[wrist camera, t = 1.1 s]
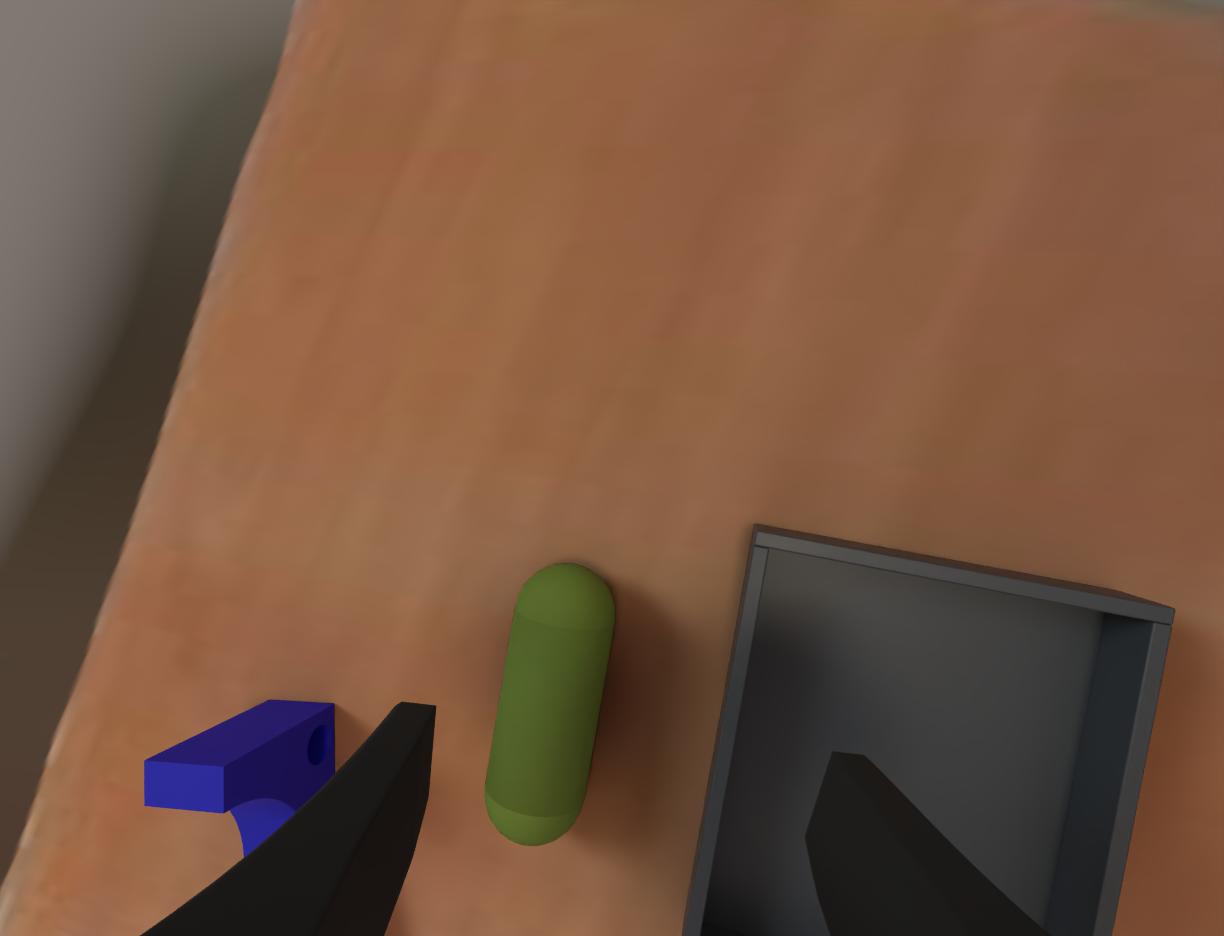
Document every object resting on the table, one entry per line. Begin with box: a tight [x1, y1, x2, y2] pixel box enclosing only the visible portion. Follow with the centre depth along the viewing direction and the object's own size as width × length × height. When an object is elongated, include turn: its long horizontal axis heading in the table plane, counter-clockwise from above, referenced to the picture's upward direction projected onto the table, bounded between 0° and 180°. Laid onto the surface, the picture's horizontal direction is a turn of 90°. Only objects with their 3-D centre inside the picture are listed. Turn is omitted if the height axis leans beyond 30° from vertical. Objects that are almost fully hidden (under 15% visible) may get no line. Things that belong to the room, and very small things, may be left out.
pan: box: [682, 524, 1175, 936], centre depth 22 cm, size 15×12×3 cm
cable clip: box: [144, 700, 335, 857], centre depth 25 cm, size 12×4×6 cm, turn 1°
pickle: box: [484, 563, 616, 846], centre depth 24 cm, size 10×4×4 cm, turn 170°
